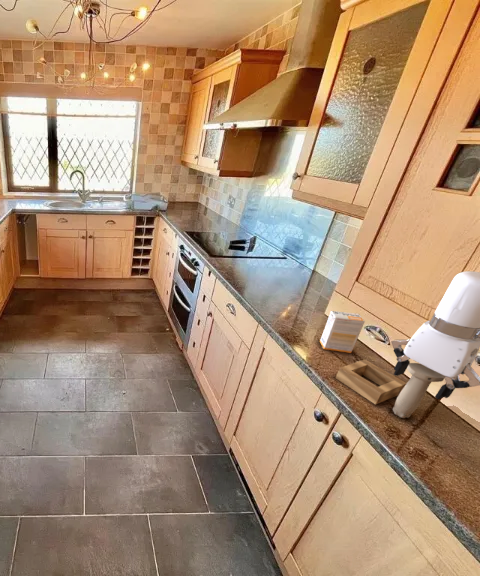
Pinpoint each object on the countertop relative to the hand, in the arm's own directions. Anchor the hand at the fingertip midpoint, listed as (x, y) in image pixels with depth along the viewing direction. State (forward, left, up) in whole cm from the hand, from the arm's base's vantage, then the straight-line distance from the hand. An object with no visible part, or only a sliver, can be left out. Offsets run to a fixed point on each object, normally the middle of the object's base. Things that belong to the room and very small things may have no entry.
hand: (418, 384), depth 76 cm
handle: (0, 0, -11) cm, 11 cm away
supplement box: (-12, -26, -11) cm, 31 cm away
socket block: (-3, -10, -10) cm, 15 cm away
